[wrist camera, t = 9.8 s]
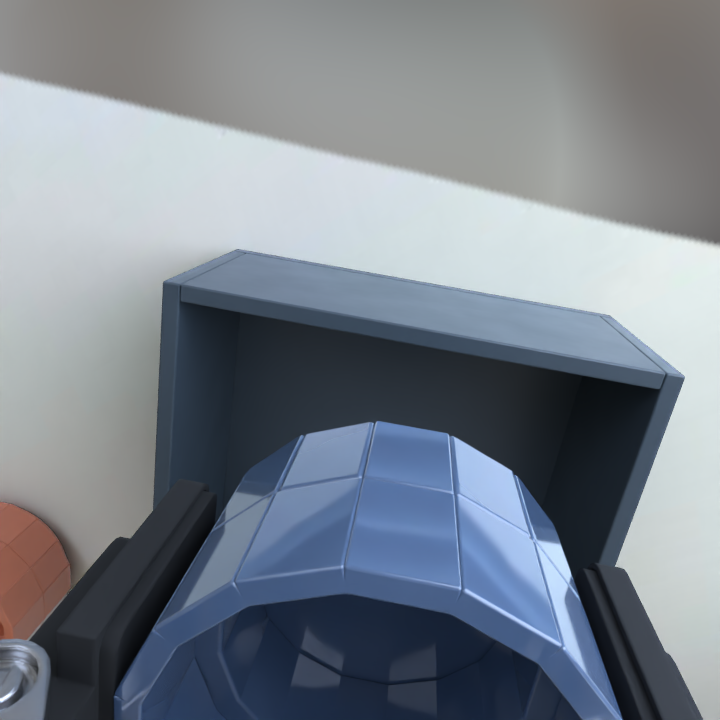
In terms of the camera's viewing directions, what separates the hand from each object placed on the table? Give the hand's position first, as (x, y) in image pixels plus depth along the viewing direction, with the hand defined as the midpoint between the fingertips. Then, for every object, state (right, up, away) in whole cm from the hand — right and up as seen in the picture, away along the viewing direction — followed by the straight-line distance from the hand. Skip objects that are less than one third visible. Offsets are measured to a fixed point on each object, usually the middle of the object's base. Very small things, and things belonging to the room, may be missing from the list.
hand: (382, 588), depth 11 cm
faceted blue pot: (0, 0, +1) cm, 1 cm away
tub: (+1, +1, +13) cm, 13 cm away
